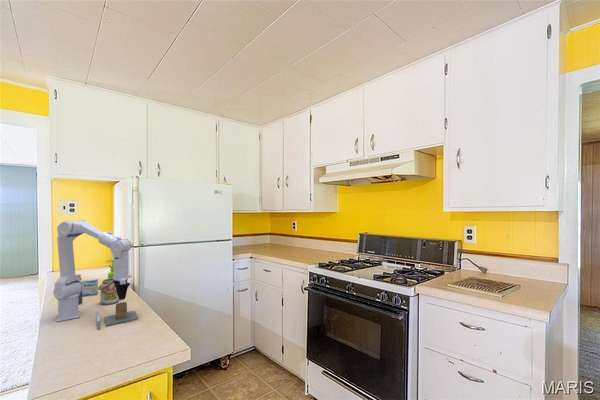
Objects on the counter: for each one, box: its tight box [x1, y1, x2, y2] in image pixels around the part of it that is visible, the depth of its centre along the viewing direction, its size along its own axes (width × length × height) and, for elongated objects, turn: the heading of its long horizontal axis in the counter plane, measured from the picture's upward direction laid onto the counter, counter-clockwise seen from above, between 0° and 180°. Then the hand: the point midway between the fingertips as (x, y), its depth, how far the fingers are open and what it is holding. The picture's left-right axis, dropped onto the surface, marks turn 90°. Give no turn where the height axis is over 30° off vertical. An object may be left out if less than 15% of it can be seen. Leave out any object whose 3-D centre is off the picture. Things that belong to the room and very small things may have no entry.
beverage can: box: [98, 278, 120, 306], centre depth 152 cm, size 9×8×12 cm
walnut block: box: [115, 301, 128, 320], centre depth 129 cm, size 4×4×6 cm
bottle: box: [76, 273, 83, 306], centre depth 151 cm, size 6×6×15 cm
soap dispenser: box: [105, 259, 114, 279], centre depth 166 cm, size 6×7×20 cm
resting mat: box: [103, 310, 139, 327], centre depth 129 cm, size 12×12×1 cm
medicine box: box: [81, 278, 99, 298], centre depth 168 cm, size 8×4×9 cm, turn 118°
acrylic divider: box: [95, 309, 101, 331], centre depth 124 cm, size 16×1×4 cm, turn 36°
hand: (121, 297), depth 129 cm, fingers open, 7 cm apart
